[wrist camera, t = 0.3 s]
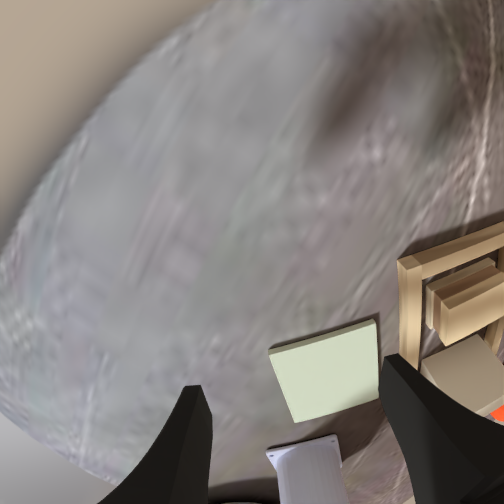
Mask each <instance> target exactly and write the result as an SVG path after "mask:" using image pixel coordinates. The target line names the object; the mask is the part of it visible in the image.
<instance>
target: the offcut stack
mask: <svg viewBox="0 0 504 504" xmlns="http://www.w3.org/2000/svg"><path fill="white" fill-rule="evenodd" d="M502 316H504V273H503V272H500V271H499V270H498V269H497V268H496V267H495V262H494V261H493V260H492V259H490V258H489V257H488V258H486V259H483V260H481V261H479V262H477V263H475V264H473V265H471V266H468V267H466V268H464V269H462V270H459V271H457V272H455V273H453V274H450V275H448V276H446V277H443V278H441V279H439V280H436V281H434V282H432V283H429V284H427V285H426V321H425V323H426V324H427V325H428V327H429V328H430V329H433V328H435V330H436V331H437V332H438V334H439V338H440V339H441V341H442V342H443V343H444V345H445V346H448V345H450V344H452V343H454V342H456V341H458V340H460V339H462V338H464V337H466V336H468V335H470V334H471V333H473V332H475V331H477V330H479V329H481V328H483V327H484V326H486V325H488V324H490V323H492V322H493V321H495V320H497V319H499V318H500V317H502Z"/></svg>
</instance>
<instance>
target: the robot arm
mask: <svg viewBox="0 0 504 504" xmlns="http://www.w3.org/2000/svg"><path fill="white" fill-rule="evenodd" d="M378 392H379V396H380V399H381V402H382V406H383V409H384V411H385V414H386V416H387V418H388V421H389V423H390V425H391V427H392V429H393V432H394V434H395V436H396V438H397V441H398V443H399V445H400V448H401V450H402V452H403V455H404V458H405V461H406V464H407V468H408V471H409V475H410V479H411V483H412V488H413V492H414V497H415V502H416V504H504V426H503V425H500V424H498V423H495V422H493V421H491V420H489V419H487V418H485V417H482V416H480V415H478V414H476V413H475V412H473V411H471V410H469V409H468V408H466V407H464V406H463V405H461V404H460V403H458V402H457V401H455V400H454V399H452V398H451V397H449V396H448V395H447V394H445V393H444V392H443V391H441V390H440V389H439V388H438V387H436V386H435V385H434V384H433V383H432V382H430V381H429V380H428V379H427V378H426V377H424V376H423V375H422V374H421V373H420V372H419V371H417V370H416V369H415V368H414V367H413V366H412V365H411V364H410V363H409V362H407V361H406V360H405V359H404V358H403V357H402V356H401V355H399V354H398V353H397V354H393V355H389V356H385V357H384V361H383V366H382V371H381V376H380V381H379V386H378ZM212 439H213V430H212V414H211V411H210V409H209V406H208V403H207V401H206V398H205V396H204V393H203V390H202V387H201V385H193V386H185V387H184V388H183V390H182V392H181V394H180V397H179V399H178V401H177V403H176V405H175V407H174V409H173V411H172V413H171V415H170V416H169V418H168V420H167V422H166V423H165V425H164V427H163V429H162V430H161V432H160V434H159V435H158V437H157V438H156V440H155V441H154V443H153V445H152V446H151V448H150V449H149V450H148V452H147V453H146V455H145V456H144V457H143V459H142V460H141V461H140V462H139V464H138V465H137V466H136V467H135V468H134V470H133V471H132V472H131V473H130V474H129V475H128V476H127V477H126V478H125V479H124V481H123V482H122V483H121V484H120V485H118V486H117V487H116V488H115V489H114V490H113V491H112V492H111V493H110V494H109V495H107V496H106V497H105V498H104V499H103V500H101V501H100V502H99V503H97V504H208V479H209V469H210V459H211V449H212ZM266 455H267V457H268V458H269V460H270V461H271V463H272V464H273V466H274V467H275V469H276V470H277V476H278V485H279V494H280V503H281V504H349V500H348V496H347V492H346V488H345V484H344V480H343V476H342V472H341V468H340V467H342V460H341V455H340V449H339V444H338V439H337V435H329V436H326V437H322V438H318V439H314V440H311V441H306V442H302V443H298V444H294V445H289V446H285V447H280V448H275V449H270V450H267V451H266Z"/></svg>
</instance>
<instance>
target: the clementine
mask: <svg viewBox="0 0 504 504" xmlns="http://www.w3.org/2000/svg"><path fill="white" fill-rule="evenodd" d="M490 414H491V415H492V416H493V417H494V418H495V419H497V420H499V421H504V405H502V406H501V407H499V408H498V409H496V410H494V411H493V412H491V413H490Z"/></svg>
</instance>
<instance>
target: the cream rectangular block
mask: <svg viewBox="0 0 504 504" xmlns="http://www.w3.org/2000/svg"><path fill="white" fill-rule="evenodd" d="M420 373H421V374H422V375H423V376H424V377H426V378H427V379H428V380H429V381H430V382H432V383H433V384H434V385H435V386H436V387H438V388H439V389H440V390H441V391H443V392H444V393H445V394H447V395H448V396H449V397H451V398H452V399H454V400H455V401H457V402H458V403H460V404H461V405H463V406H464V407H466V408H468V409H469V410H471V411H473V412H475V413H476V414H478V415H480V416H482V417H485V416H486V415H488V414H490V413H491V412H493V411H494V410H496V409H498V408H499V407H501V406H502V405H504V365H503V364H502V363H501V362H500V360H499V359H498V358H497V357H496V355H495V354H494V353H493V352H492V350H491V349H490V348H489V347H488V346H487V344H486V343H485V342H484V341H483V340H482V338H481V337H480V336H479V335H478V334H476V335H474V336H472V337H470V338H468V339H466V340H464V341H462V342H460V343H458V344H456V345H454V346H451V347H449V348H447V349H445V350H443V351H441V352H438V353H436V354H434V355H432V356H429V357H427V358H425V359H422V361H421V370H420Z"/></svg>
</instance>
